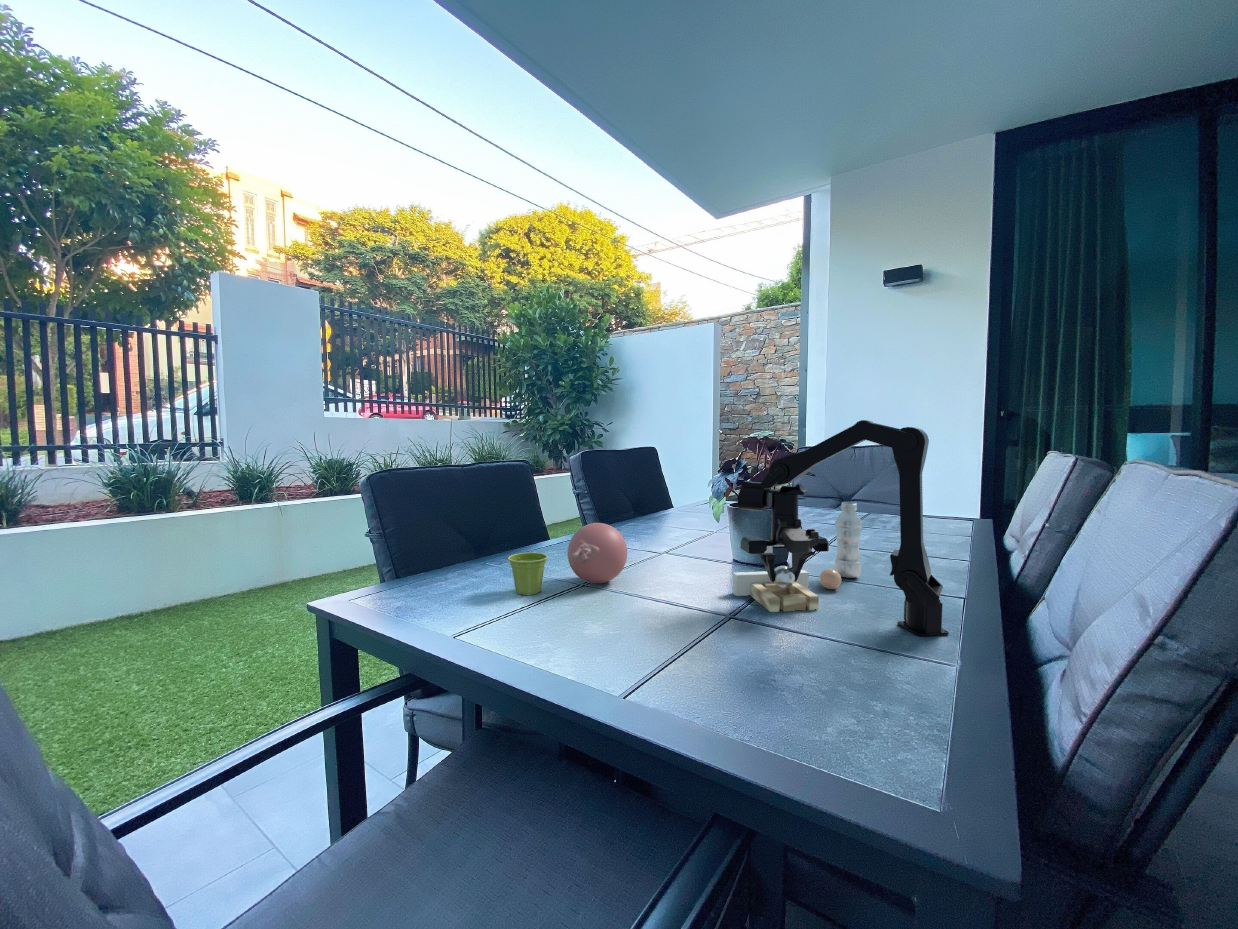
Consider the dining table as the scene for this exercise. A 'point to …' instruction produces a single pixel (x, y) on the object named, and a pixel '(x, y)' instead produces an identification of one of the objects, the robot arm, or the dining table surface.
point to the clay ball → (830, 578)
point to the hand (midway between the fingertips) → (783, 581)
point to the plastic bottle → (848, 541)
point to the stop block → (759, 581)
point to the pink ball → (597, 553)
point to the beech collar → (784, 597)
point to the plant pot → (528, 572)
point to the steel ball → (784, 577)
